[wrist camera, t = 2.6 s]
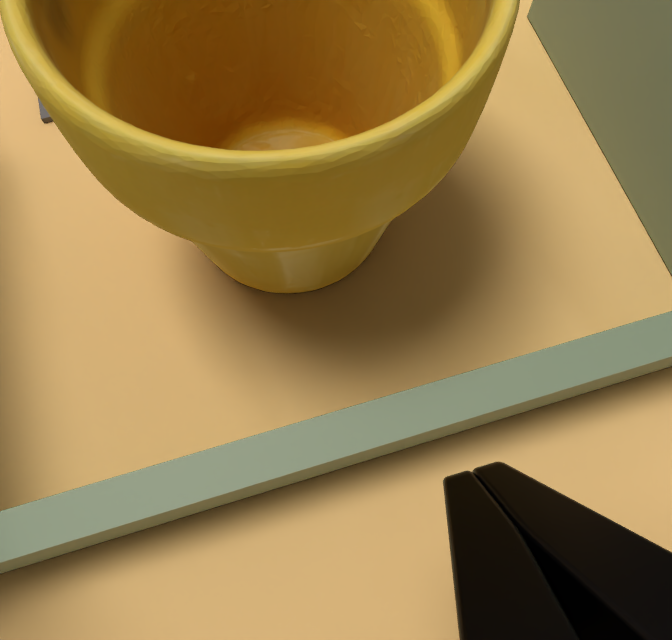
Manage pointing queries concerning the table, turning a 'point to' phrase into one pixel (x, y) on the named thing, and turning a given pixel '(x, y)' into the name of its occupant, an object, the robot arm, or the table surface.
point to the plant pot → (265, 115)
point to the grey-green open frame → (450, 393)
